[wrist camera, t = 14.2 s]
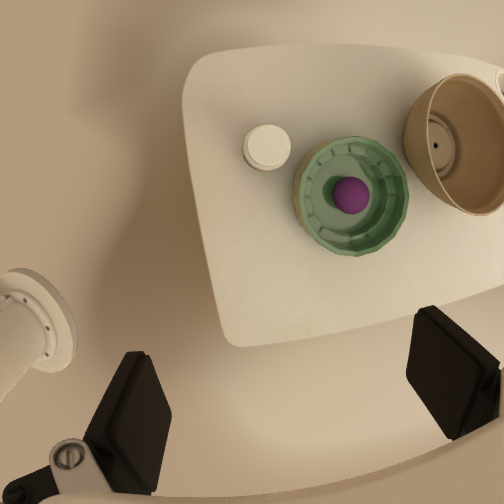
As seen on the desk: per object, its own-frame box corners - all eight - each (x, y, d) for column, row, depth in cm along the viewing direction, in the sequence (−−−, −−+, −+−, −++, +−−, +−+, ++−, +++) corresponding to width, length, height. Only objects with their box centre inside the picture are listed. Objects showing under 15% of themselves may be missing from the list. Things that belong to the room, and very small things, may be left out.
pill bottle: (286, 166, 35) (299, 166, 27) (246, 173, 35) (248, 175, 27) (278, 127, 34) (289, 116, 26) (238, 135, 34) (238, 125, 26)
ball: (320, 189, 35) (331, 192, 31) (348, 168, 35) (362, 169, 30) (340, 218, 36) (353, 225, 32) (367, 198, 36) (382, 202, 32)
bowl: (269, 181, 35) (274, 183, 31) (353, 120, 34) (369, 115, 29) (330, 264, 39) (342, 278, 34) (405, 205, 37) (425, 211, 32)
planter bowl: (482, 155, 35) (531, 159, 24) (426, 225, 38) (474, 245, 27) (424, 69, 31) (471, 50, 21) (357, 135, 34) (399, 126, 24)
